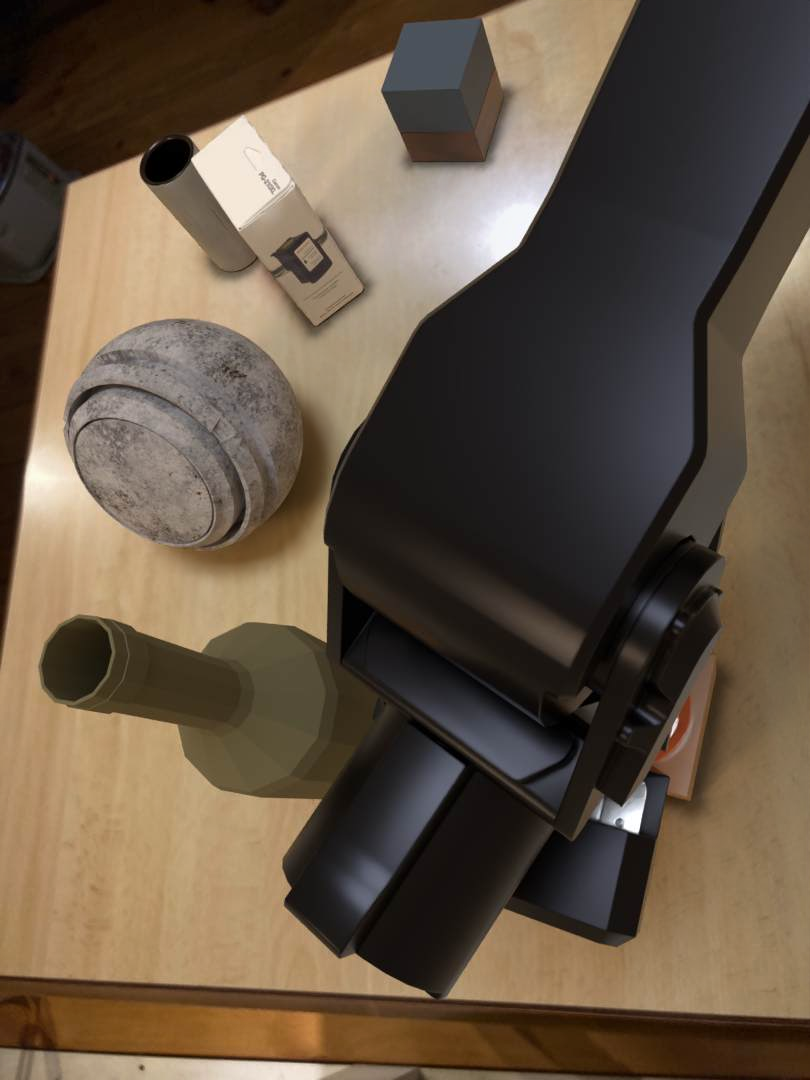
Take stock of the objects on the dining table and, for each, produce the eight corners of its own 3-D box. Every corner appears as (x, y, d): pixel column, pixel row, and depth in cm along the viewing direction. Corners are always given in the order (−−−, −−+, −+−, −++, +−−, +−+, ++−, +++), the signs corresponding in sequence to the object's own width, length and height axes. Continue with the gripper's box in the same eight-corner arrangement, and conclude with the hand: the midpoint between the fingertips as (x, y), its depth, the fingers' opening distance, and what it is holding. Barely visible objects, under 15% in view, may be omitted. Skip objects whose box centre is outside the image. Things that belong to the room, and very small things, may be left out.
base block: (504, 96, 64) (495, 64, 61) (484, 161, 63) (474, 131, 60) (432, 98, 66) (421, 67, 64) (411, 161, 65) (399, 133, 62)
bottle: (354, 697, 53) (-13, 565, 26) (461, 681, 51) (182, 520, 24) (362, 813, 50) (-34, 799, 24) (474, 801, 49) (181, 770, 22)
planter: (209, 242, 70) (132, 153, 61) (255, 215, 69) (185, 121, 60) (222, 281, 68) (145, 196, 59) (270, 254, 67) (200, 163, 58)
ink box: (267, 261, 67) (184, 155, 56) (317, 222, 66) (242, 108, 56) (314, 329, 63) (235, 230, 53) (367, 289, 63) (298, 181, 52)
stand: (716, 674, 46) (716, 654, 41) (690, 801, 45) (687, 798, 39) (591, 645, 49) (576, 623, 44) (562, 764, 48) (543, 756, 42)
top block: (495, 64, 61) (482, 16, 58) (474, 131, 60) (459, 88, 57) (421, 67, 64) (403, 22, 60) (399, 133, 62) (380, 90, 59)
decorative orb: (135, 558, 62) (-23, 484, 49) (189, 383, 66) (55, 269, 52) (311, 584, 57) (187, 508, 43) (359, 391, 60) (258, 266, 47)
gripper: (427, 350, 31) (514, 496, 45) (272, 855, 27) (420, 845, 41) (740, 380, 27) (731, 531, 41) (612, 986, 23) (649, 925, 37)
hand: (626, 701), depth 40 cm, fingers closed on cone, 5 cm apart
